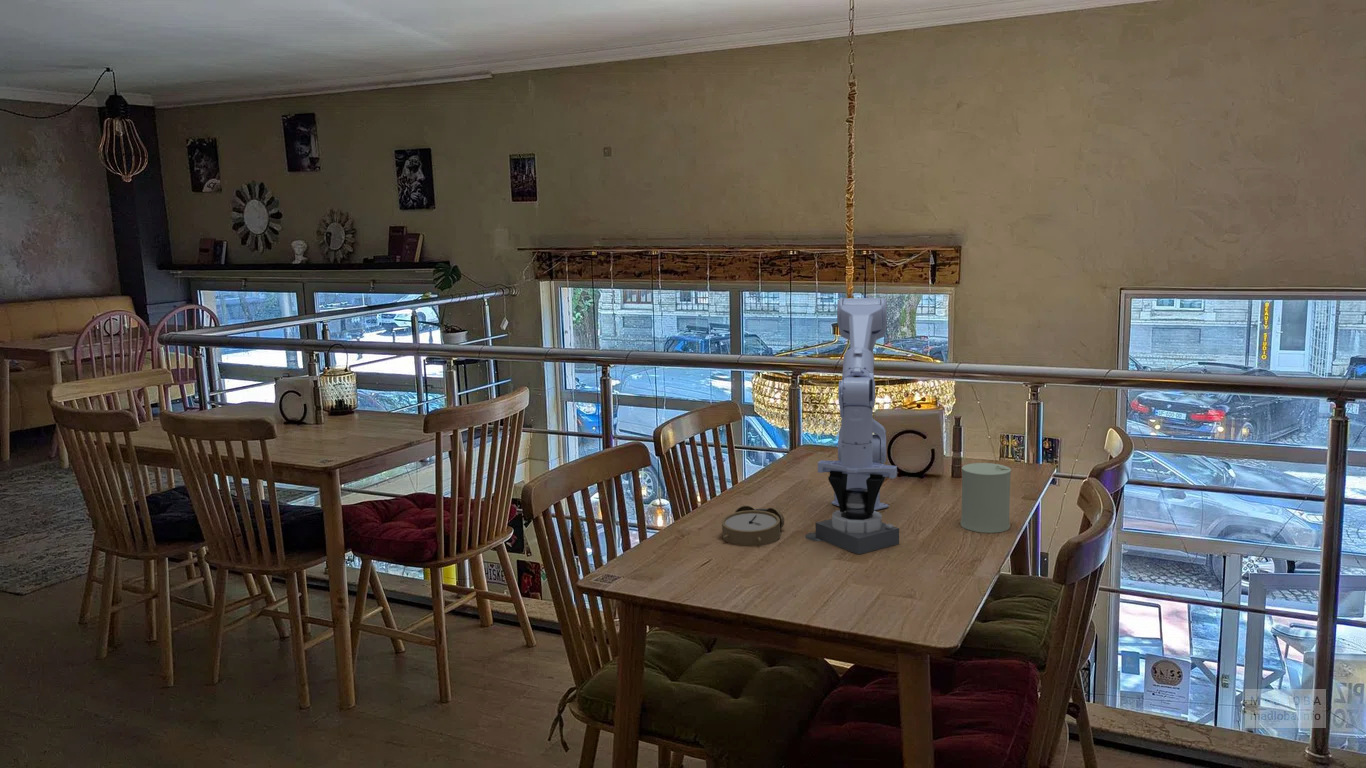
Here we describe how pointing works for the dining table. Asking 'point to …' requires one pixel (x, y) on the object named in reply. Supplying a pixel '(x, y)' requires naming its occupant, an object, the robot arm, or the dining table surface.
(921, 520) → the dining table surface
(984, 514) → the can
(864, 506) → the lens
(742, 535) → the alarm clock
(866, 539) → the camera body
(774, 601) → the dining table surface
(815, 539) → the lens cap
